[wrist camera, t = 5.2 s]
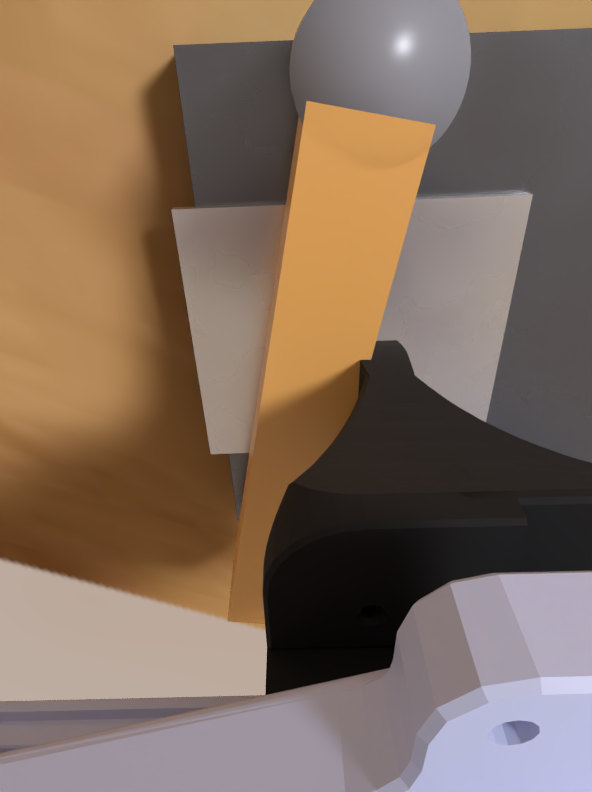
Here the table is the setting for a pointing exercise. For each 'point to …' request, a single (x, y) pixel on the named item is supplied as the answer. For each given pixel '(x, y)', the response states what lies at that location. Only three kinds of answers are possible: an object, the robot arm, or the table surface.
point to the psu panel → (410, 237)
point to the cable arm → (341, 232)
